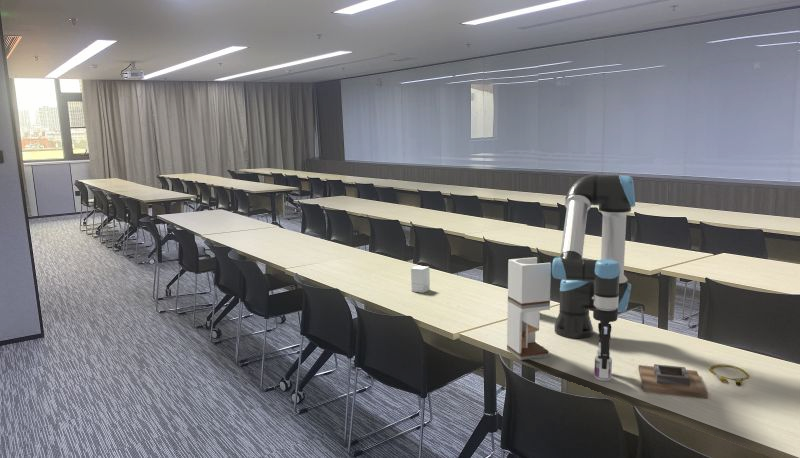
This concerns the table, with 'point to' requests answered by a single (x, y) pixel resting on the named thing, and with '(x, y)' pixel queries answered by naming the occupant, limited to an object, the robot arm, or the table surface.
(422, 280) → the supplement box
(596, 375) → the pill bottle
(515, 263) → the white notched tower
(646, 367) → the socket block
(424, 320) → the table surface
